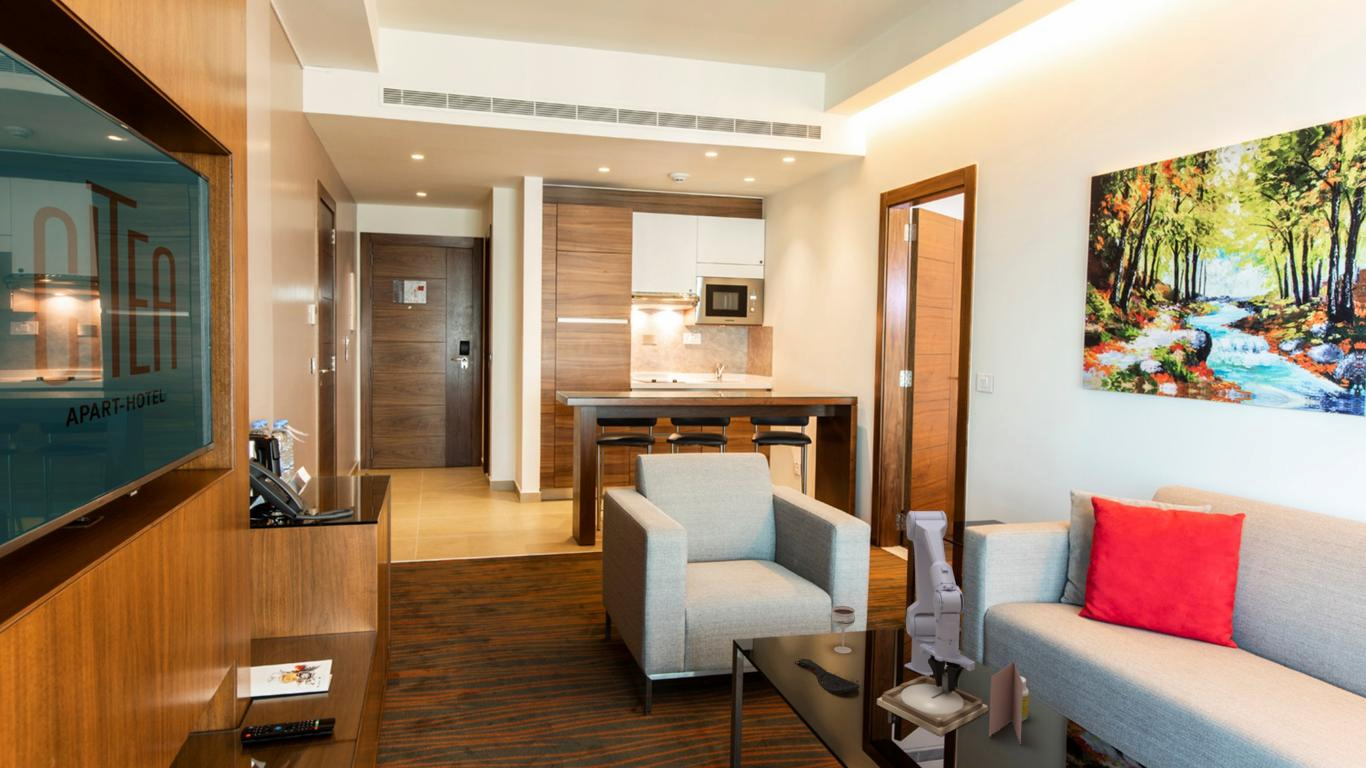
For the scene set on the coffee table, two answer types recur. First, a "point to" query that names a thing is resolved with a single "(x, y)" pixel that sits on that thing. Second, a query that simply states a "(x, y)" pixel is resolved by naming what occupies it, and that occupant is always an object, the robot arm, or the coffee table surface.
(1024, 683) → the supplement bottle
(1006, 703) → the greeting card
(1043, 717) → the coffee table surface
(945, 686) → the dial
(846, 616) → the wineglass
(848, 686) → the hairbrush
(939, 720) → the dial housing
